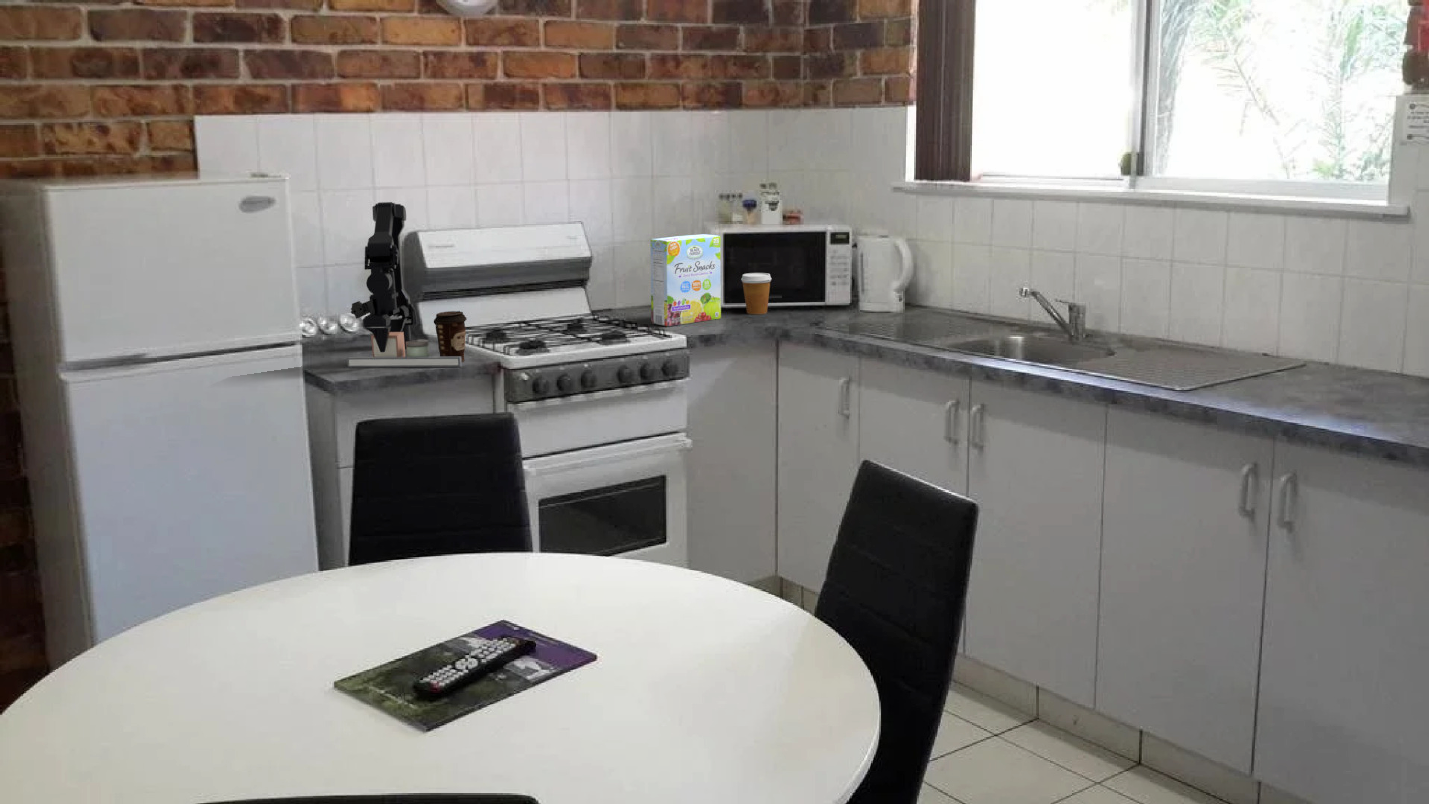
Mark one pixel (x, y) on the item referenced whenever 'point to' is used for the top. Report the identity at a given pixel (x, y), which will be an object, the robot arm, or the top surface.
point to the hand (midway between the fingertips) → (388, 348)
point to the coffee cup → (451, 333)
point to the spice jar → (417, 348)
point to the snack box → (685, 279)
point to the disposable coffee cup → (756, 292)
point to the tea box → (390, 346)
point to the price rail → (405, 361)
